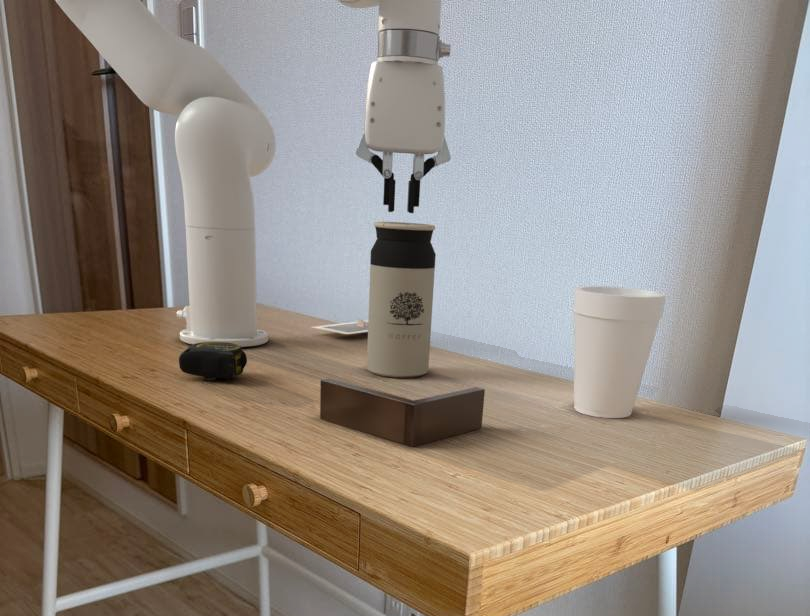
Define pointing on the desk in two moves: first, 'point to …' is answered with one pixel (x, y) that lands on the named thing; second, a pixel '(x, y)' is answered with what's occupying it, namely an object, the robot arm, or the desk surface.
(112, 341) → the desk surface
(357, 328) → the touchpad
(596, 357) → the foam cup
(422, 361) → the travel mug
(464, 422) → the corner guard
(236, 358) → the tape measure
